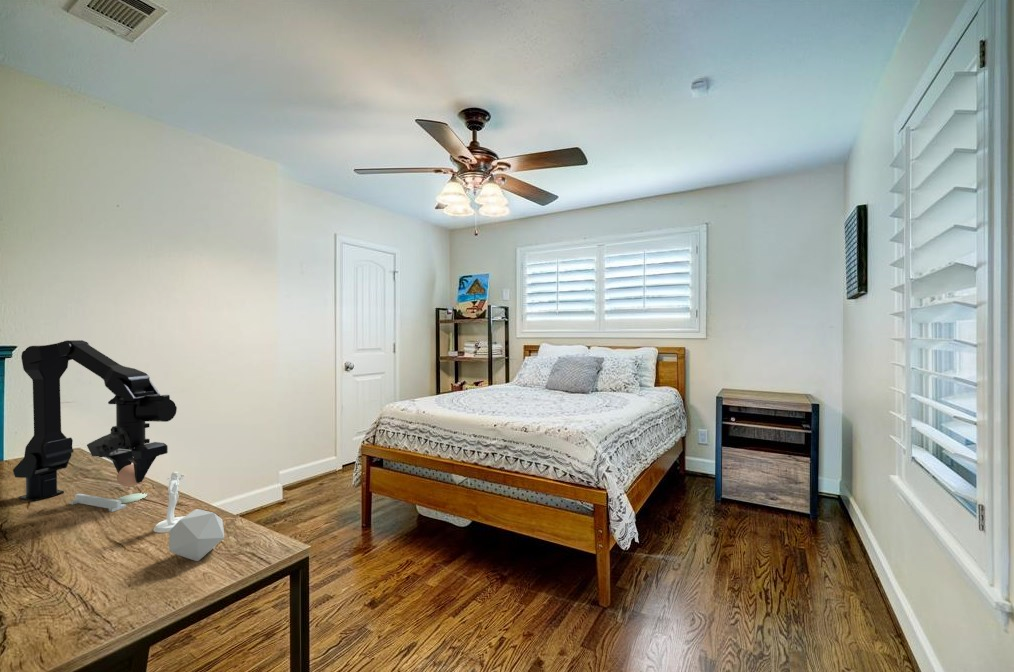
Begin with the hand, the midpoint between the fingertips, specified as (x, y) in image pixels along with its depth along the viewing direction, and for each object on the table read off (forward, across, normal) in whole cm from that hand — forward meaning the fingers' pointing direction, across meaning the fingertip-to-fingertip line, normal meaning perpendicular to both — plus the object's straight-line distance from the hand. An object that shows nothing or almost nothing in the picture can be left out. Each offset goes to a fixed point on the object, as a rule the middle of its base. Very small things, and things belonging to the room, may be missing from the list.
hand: (131, 481), depth 114 cm
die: (+5, +45, -16) cm, 48 cm away
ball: (+1, 0, 0) cm, 1 cm away
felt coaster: (+4, 0, 0) cm, 5 cm away
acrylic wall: (+4, -3, -6) cm, 8 cm away
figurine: (+5, +27, -8) cm, 29 cm away
